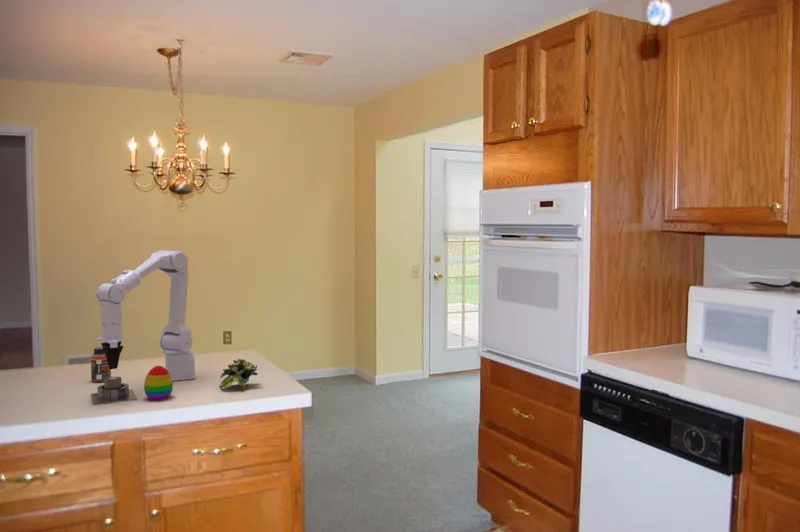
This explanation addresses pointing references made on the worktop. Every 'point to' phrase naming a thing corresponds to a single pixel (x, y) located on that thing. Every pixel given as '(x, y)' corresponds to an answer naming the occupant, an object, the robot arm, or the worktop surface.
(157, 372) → the decorative egg
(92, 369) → the supplement bottle
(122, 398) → the gray square plate
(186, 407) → the worktop surface
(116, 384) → the cap
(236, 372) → the leafy green plant
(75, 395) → the worktop surface
